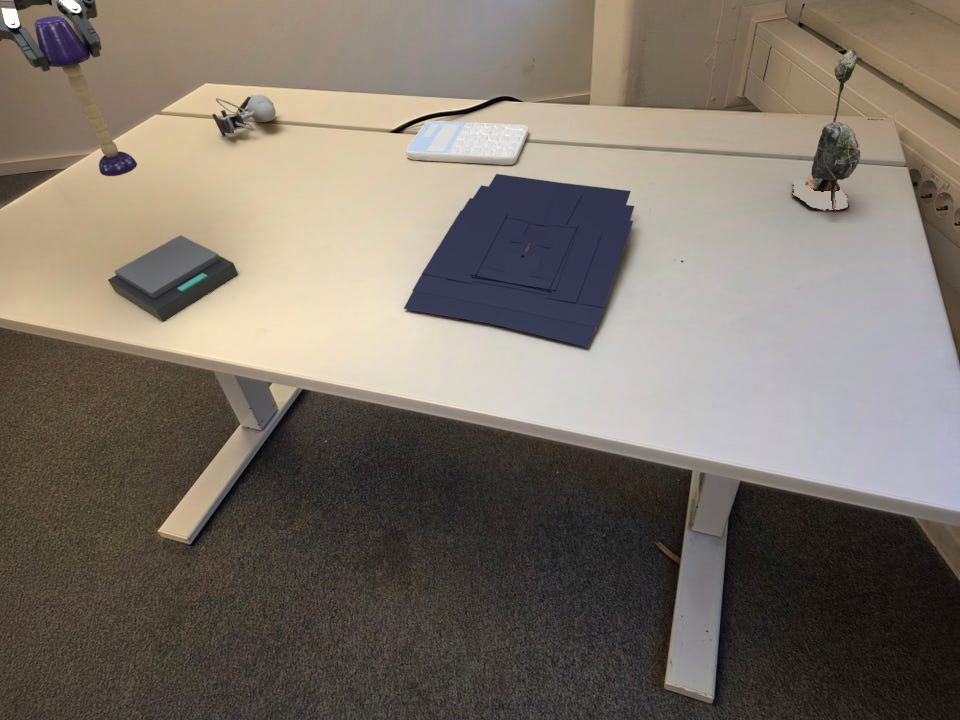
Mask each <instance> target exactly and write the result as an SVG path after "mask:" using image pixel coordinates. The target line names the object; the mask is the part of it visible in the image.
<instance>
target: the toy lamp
mask: <svg viewBox="0 0 960 720" xmlns="http://www.w3.org/2000/svg"><path fill="white" fill-rule="evenodd" d="M33 25H34V31H35V35H36V40H37V45H38V47H39V48H40V50H41V51H42V52H43V54H44V55H45V57H46V59H47V61H48V64H49V67H50V68H51V67H53V68H62V71H63V73H64V74H65V75H66V76H67V78H68V83H69V85H70V87H71V88H72V89H73V90H74V94H75V97H76V99H77V101H78V103H79V104H81V110H82V113H83V114H84V115H85V117H86V118H87V123H88V125H89V127H90V129H91V130H92V131H93V133H94V138H95V139H96V141H97V143H99V147H100V151H101V152H102V154H103V156H102V157H101V158H100V159H99V161H98V170H99V172H100V175H102V176H106V177H117V176H121V175H126V174H128V173H130V172H132V171H133V170H135V169H136V168H137V166H138V162H137V161H136V159H135V158H134V156H132V155H131V154H130V153H127V152H124V151H119V150H118V146H117V144H116V143H115V142H114V141H113V135H112V133H111V132H110V130H109V129H108V125H107V121H106V119H105V118H104V117H103V116H102V111H101V108H100V106H99V104H98V103H97V102H96V98H95V95H94V93H93V91H92V90H91V89H90V88H89V82H88V80H87V78H86V77H85V75H84V74H83V71H82V67H81V65H80V64H81V63H84V62H85V61H88V60H89V59H90V58H91V54H90V52H89V51H88V49H87V47H86V46H85V45H84V43H83V42H82V40H81V39H80V37H79V36H78V34H77V33H76V31H75V30H74V27H72V25H71V23H70V22H69V21H68V20H67V19H66V18H64V17H63V16H62V15H61V16H59V15H54V16H46V17H45V16H44V17H41V18H39V19H36V20H35V21H34V24H33Z"/></svg>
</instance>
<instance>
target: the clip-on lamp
mask: <svg viewBox="0 0 960 720" xmlns="http://www.w3.org/2000/svg"><path fill="white" fill-rule="evenodd" d="M215 101H216V102H217V103H218V104H219V105H220V107H223V108H224V109H223V110H220V113H221V116H222V117H221V118H218V116H217V114H216V113H212V114H211V115H212V118H213V119H214V121H215V124H216V126H217V128H218V130H219V133H220V134H221V136H222V137H226V134H227V135H230V134H232V133H235V131H236V130H241V129H246V130H249V131H254V130H255V127H254V126H253V124H251V123H250V122H248V121H246V120H248V119H250V118H252V119H253V120H254V121H256V122H258V123H267V122H268V123H269V122H271V121H273V120H274V119H275V117H276V114H277V113H276V108H275V106H274V103H273V102H272V100H271V99H270V98H269V97H267V96H265V95H263V94H255V95H254V94H252V95H250V96H247V97H246V99H244V100H243V102H242V103H241V105H240V106H238V105H236V104H235V103H232V102H230V101H228V100H224V99H222V98H219V97H215ZM221 102H223V103H225V104H228V105H230V106H233V107H234V108H237V110H236V111H233V110H230V109H228V108H227V107H225V106H224V105H223V104H222V103H221ZM246 108H247V109H246ZM245 110H247V112H246V111H245ZM226 111H228V112H230V114H227V112H226ZM245 121H246V122H245Z"/></svg>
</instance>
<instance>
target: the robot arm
mask: <svg viewBox="0 0 960 720" xmlns="http://www.w3.org/2000/svg"><path fill="white" fill-rule="evenodd" d="M96 3H97V2H96V0H77V1H75V0H0V8H1V11H2V16H3V19H0V42H2V41H3V40H9V41H11V42H13V43H15V44H16V46H17V47H18V49H19V50H20V52H21V53H22V55H23V56H24V58H25V59H26V60H27V62H28V63H29V64H30V65H31V66H32V67H33V68H34V69H36V68H39V69H40V70H41V71H42V72H43V73H45V72H48V71H51V66H49V64H48V61H47V59H46V57H45V55H44V54H43V52H42V51H41V50H40V48H39V45H38V43H37V42H36V41H35V39H34V38H33V36H32V34H31V33H30V32H29V30H28V29H27V27H23V26H22V21H21V17H20V13H19V11H23V10H27V9H28V8H30V7H32V6H45V5H47V7H49V8H50V9H51V10H52V11H54V13H55V14H57V15H61V17H63V18H65V19H66V20H67V22H68V23H69V24H70V25H72V26H73V30H74V31H75V32H76V34H77V35H78V36H79V38H80V39H81V41H82V42H83V43H84V45H85V46H86V47H87V49H88V51H89V52H90V56H91V57H92V58H99V57H101V52H100V51H102V44H101V38H100V36H99V34H98V32H97V31H96V29H95V28H94V27H93V25H92V24H91V22H90V21H89V20H90V19H96V18H97V17H98V10H97V4H96Z"/></svg>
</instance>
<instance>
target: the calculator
mask: <svg viewBox="0 0 960 720" xmlns="http://www.w3.org/2000/svg"><path fill="white" fill-rule="evenodd" d="M529 131H530V129H529V126H528V125H527V124H517V123H495V122H494V123H493V122H489V123H488V122H471V121H470V122H469V121H466V122H465V121H445V120H444V121H443V120H429V121H425V123H424V124H423V125H422V126H421V128H420V129H419V131H418V132H417V133H416V135H415V136H414V137H413V138H412V140H411V142H410V143H409V144H408V145H407V147H406V149H405V155H406V157H407V159H408V160H412V161H425V162H426V161H428V162H447V163H462V164H478V165H479V164H480V165H481V164H483V165H499V166H512V165H514V164H516V163H517V161H518V160H519V159H518V158H519V157H520V154H521V152H522V150H523V147H524V145H525V142H526V140H527V138H528V136H529Z"/></svg>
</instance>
